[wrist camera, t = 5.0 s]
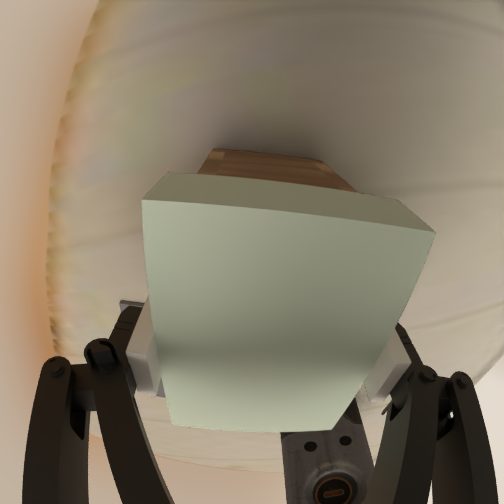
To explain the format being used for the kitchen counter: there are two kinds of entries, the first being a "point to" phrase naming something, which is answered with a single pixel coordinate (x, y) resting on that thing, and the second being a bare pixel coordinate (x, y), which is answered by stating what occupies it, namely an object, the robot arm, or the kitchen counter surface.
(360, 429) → the electronic device
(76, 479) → the robot arm
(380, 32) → the kitchen counter surface
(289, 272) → the block
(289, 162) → the crate
